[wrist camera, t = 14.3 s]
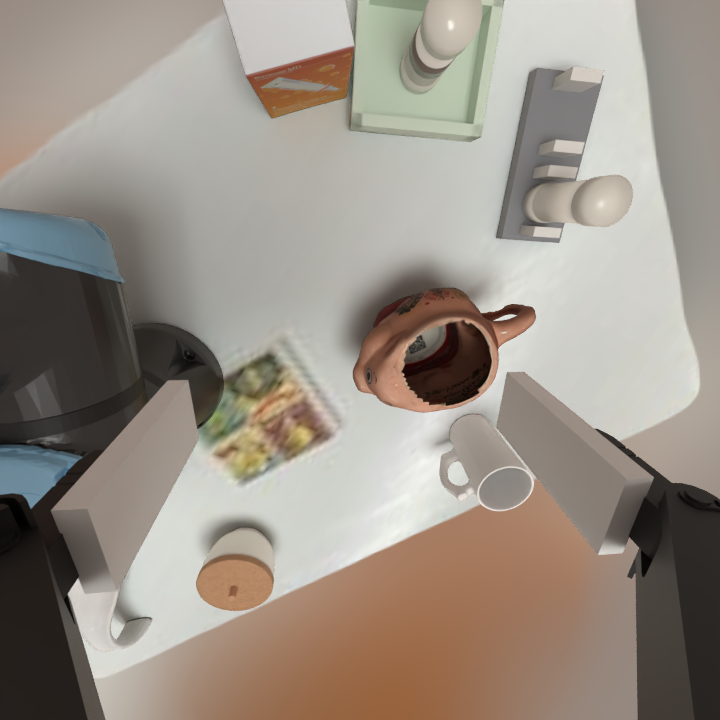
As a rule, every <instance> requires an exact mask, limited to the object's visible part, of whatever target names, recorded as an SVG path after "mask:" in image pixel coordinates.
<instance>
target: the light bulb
mask: <svg viewBox="0 0 720 720" xmlns="http://www.w3.org/2000/svg"><path fill="white" fill-rule="evenodd" d="M481 20H482V1H481V0H429V1H428V3H427V5H426V8H425V10H424V12H423V15H422V18H421V22H420V24H419V26H418V28H417V30H416V32H415V34H414V36H413V38H412V41H411V43H410V44H409V45H408V47H407V49H406V51H405V53H404V55H403V57H402V59H401V62H400V68H399V74H400V79H401V82H402V84H403V86H404V87H405V88H406V89H407V90H408V91H409V92H411V93H413V94H416V95H420V94H425V93H427V92H428V91H430V90H431V89H432V88H433V87H434V85H435V84H436V83H437V82H438V81H439V79H440V78H441V76H442V74H443V73H444V71H445V70H446V69H447V68H448V67H449V65H450V64H451V63H452V62H453V60H454V59H455V58H456V57H457V56H458V55H459V54H461V53H462V51H463V50H464V49H465V48H466V47H467V45H468V44H469V43H470V42H471V41H472V39H473V38H474V37H475V35H476V34H477V32H478V30H479V27H480V24H481Z"/></svg>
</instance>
